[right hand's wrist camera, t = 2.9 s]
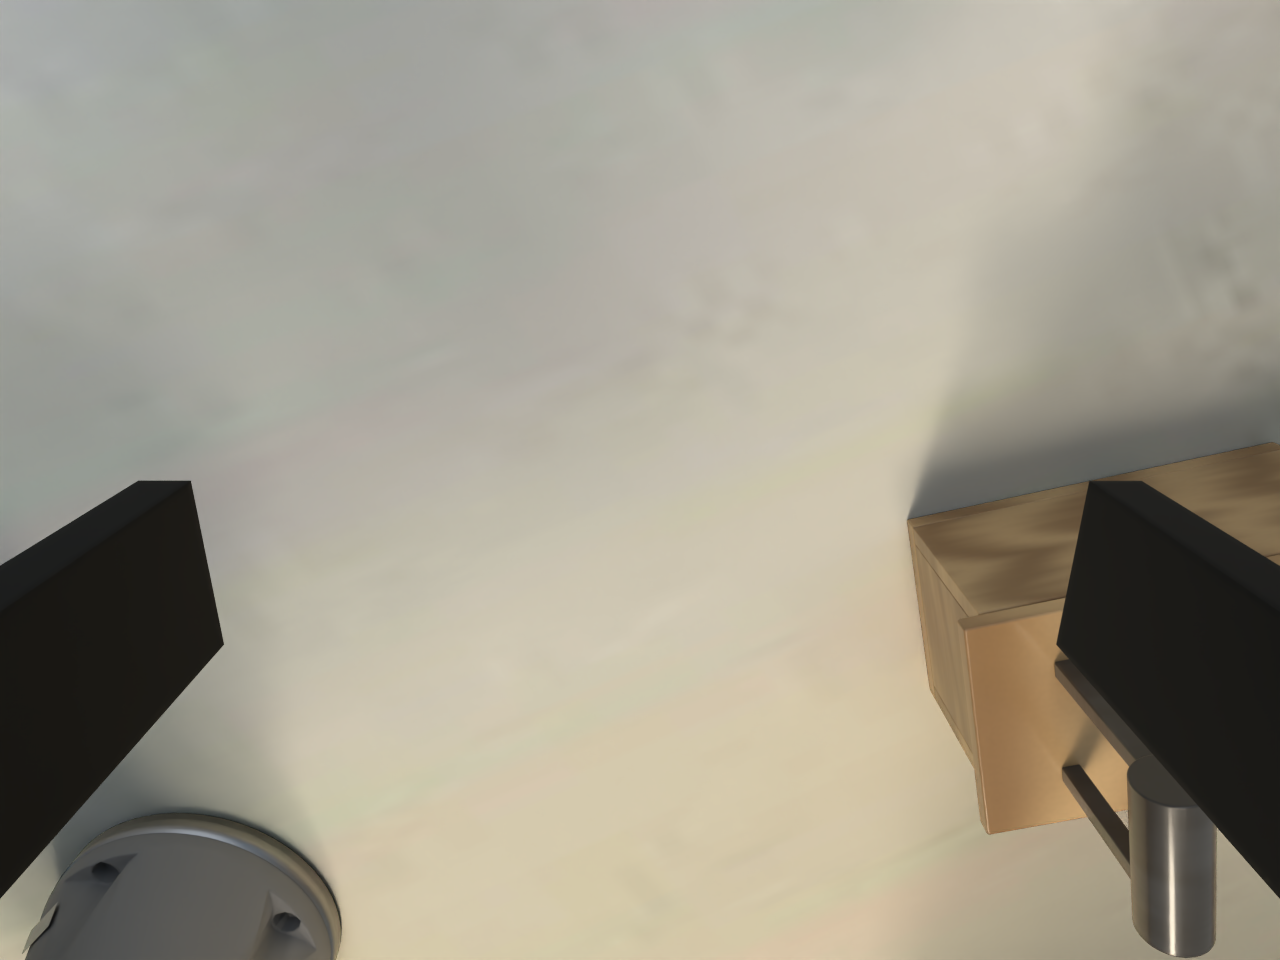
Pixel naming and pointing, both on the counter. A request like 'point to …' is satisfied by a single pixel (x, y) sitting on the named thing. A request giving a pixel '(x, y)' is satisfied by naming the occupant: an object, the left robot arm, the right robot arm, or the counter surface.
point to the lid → (1083, 772)
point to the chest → (1060, 550)
